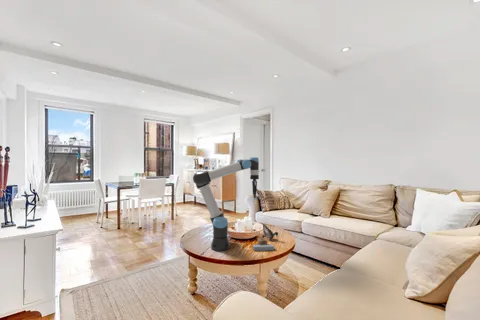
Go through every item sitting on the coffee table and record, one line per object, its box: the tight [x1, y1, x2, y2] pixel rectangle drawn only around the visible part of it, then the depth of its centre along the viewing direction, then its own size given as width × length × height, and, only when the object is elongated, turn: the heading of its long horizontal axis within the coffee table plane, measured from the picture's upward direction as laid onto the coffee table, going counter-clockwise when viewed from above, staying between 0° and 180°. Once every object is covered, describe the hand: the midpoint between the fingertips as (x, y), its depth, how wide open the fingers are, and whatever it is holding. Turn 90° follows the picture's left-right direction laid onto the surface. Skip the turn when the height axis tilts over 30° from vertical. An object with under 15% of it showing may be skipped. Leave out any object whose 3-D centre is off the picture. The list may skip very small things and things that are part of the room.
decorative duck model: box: [261, 224, 279, 240], centre depth 210 cm, size 15×8×15 cm, turn 52°
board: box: [252, 243, 275, 252], centre depth 186 cm, size 16×5×3 cm, turn 94°
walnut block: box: [257, 237, 268, 245], centre depth 192 cm, size 7×7×6 cm
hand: (254, 201), depth 208 cm, fingers closed
